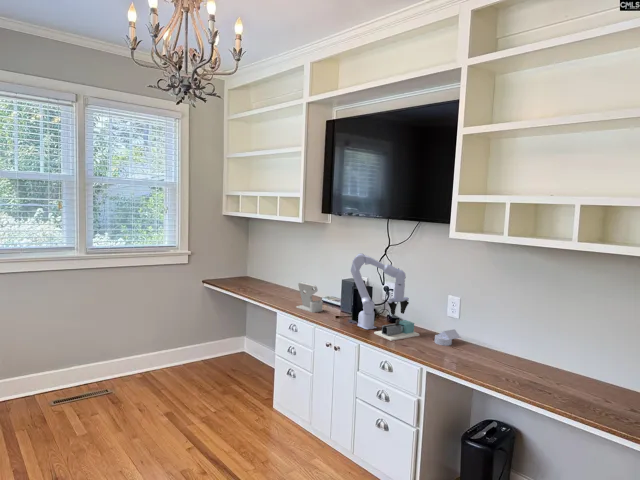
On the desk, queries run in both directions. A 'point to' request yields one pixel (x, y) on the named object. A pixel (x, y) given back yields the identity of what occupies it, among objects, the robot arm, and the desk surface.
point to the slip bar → (401, 325)
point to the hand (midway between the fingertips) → (397, 313)
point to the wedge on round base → (446, 337)
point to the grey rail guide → (391, 329)
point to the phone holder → (309, 298)
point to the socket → (407, 326)
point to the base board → (398, 336)
